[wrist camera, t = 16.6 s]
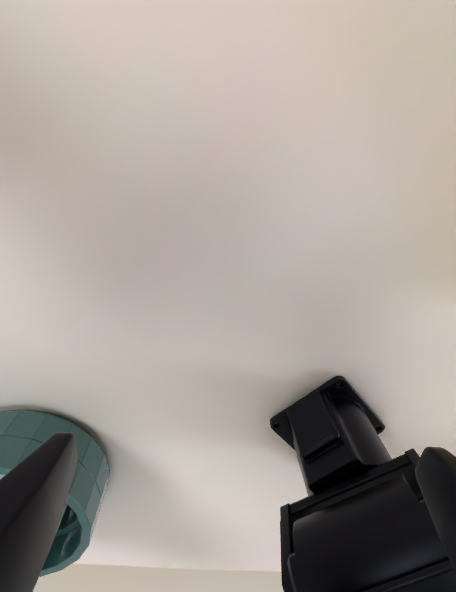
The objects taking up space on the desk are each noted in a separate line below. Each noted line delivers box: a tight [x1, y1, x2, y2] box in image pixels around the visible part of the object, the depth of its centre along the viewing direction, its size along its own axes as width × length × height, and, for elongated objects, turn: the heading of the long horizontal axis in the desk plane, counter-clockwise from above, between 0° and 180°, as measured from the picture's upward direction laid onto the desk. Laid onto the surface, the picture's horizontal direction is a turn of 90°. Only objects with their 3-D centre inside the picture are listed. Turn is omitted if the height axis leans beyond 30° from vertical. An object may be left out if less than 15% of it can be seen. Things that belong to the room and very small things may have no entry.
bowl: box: [0, 410, 109, 577], centre depth 24 cm, size 11×11×5 cm
